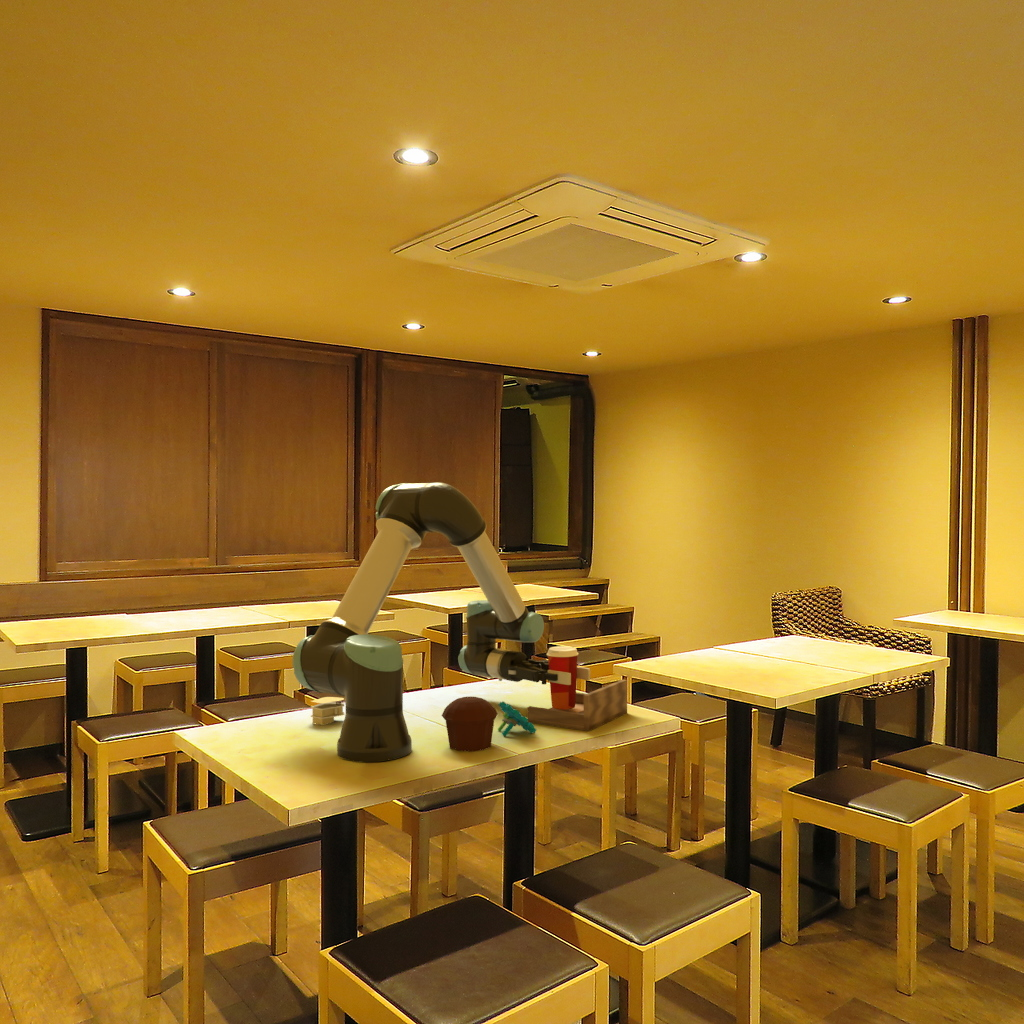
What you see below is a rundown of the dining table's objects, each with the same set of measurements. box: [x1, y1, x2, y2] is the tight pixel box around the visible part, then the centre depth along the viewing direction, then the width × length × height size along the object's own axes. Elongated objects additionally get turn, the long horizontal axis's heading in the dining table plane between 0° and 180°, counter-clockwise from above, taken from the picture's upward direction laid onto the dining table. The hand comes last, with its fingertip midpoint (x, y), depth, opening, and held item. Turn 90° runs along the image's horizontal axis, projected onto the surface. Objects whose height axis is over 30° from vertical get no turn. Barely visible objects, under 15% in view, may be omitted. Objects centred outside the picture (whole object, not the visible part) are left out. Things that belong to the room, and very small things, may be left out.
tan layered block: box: [310, 696, 345, 726], centre depth 202 cm, size 10×9×6 cm
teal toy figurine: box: [497, 701, 537, 737], centre depth 189 cm, size 11×6×10 cm
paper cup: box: [546, 645, 580, 709], centre depth 205 cm, size 8×8×14 cm
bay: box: [527, 679, 628, 732], centre depth 203 cm, size 20×16×8 cm
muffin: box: [441, 696, 499, 753], centre depth 180 cm, size 12×11×10 cm
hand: (579, 676), depth 202 cm, fingers open, 7 cm apart
